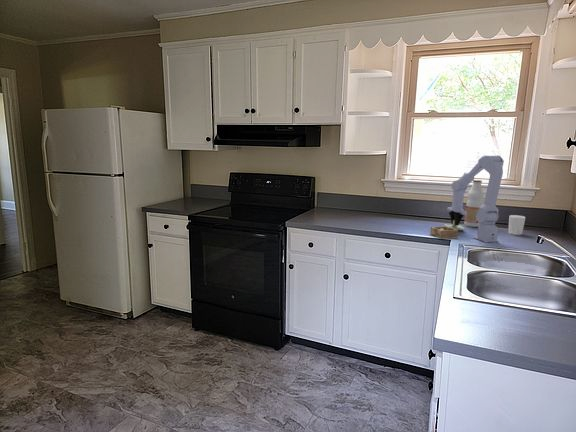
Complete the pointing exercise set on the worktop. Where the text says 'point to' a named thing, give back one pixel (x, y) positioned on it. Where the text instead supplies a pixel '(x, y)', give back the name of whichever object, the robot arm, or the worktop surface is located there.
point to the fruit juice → (474, 203)
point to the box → (444, 232)
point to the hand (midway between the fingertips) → (455, 224)
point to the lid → (454, 226)
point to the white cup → (516, 224)
